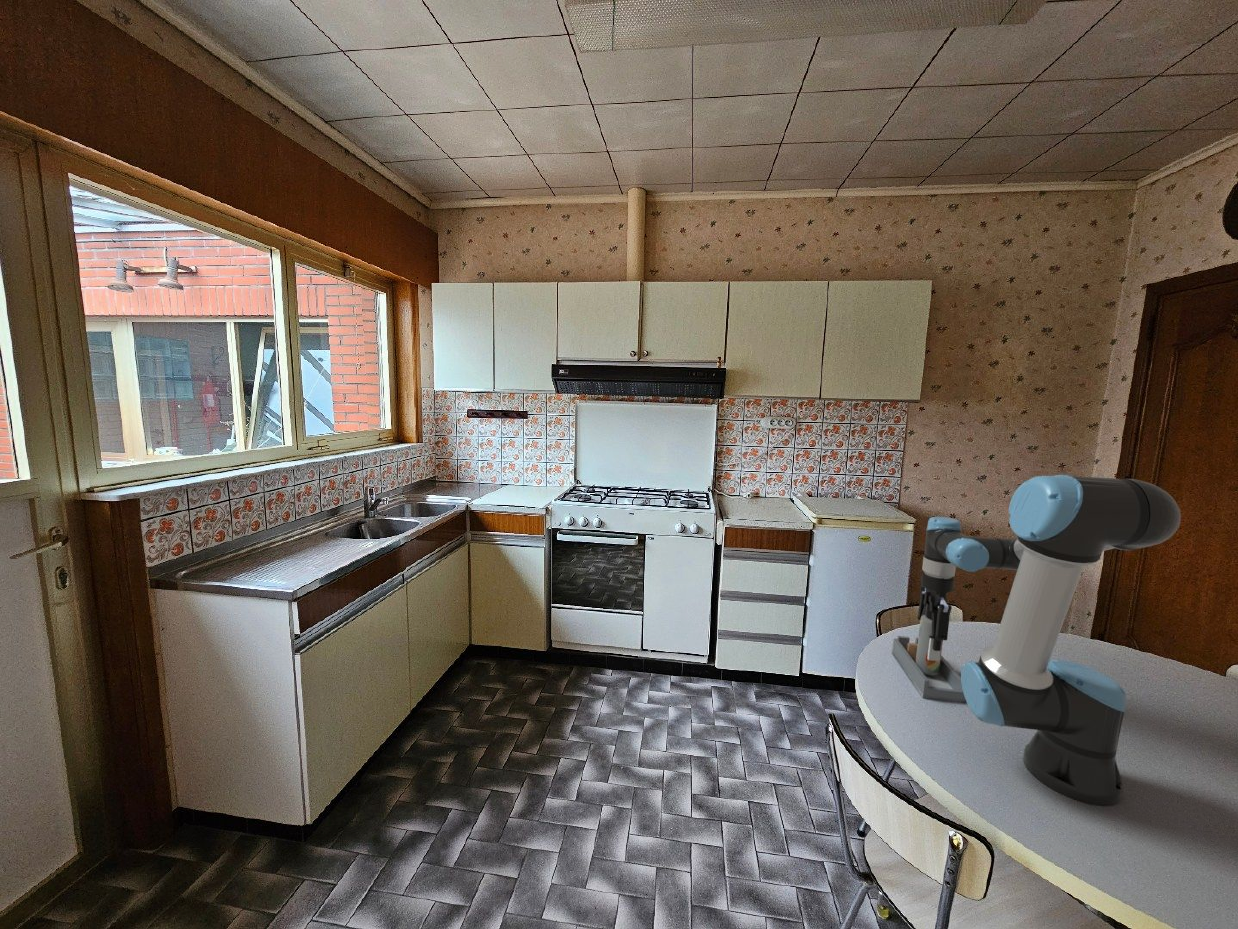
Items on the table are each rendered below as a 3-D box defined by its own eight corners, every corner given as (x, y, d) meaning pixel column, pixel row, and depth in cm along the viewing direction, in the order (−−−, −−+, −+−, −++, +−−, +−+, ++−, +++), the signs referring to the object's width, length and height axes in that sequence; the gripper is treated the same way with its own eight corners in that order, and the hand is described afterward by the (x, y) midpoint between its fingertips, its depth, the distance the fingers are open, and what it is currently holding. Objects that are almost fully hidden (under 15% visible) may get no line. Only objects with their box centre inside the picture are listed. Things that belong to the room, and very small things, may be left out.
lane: (965, 704, 127) (968, 682, 127) (922, 698, 129) (925, 677, 128) (928, 657, 150) (930, 639, 149) (892, 653, 152) (894, 635, 151)
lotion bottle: (943, 676, 136) (952, 607, 133) (922, 675, 136) (930, 606, 133) (930, 665, 142) (939, 598, 139) (910, 664, 142) (918, 597, 139)
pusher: (935, 667, 142) (937, 648, 141) (907, 664, 143) (909, 644, 142) (925, 654, 149) (927, 636, 148) (898, 652, 150) (900, 633, 149)
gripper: (970, 588, 125) (959, 674, 129) (938, 564, 143) (929, 639, 147) (937, 585, 127) (927, 670, 130) (910, 561, 145) (901, 636, 148)
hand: (928, 654), depth 138 cm, fingers closed on lotion bottle, 5 cm apart
